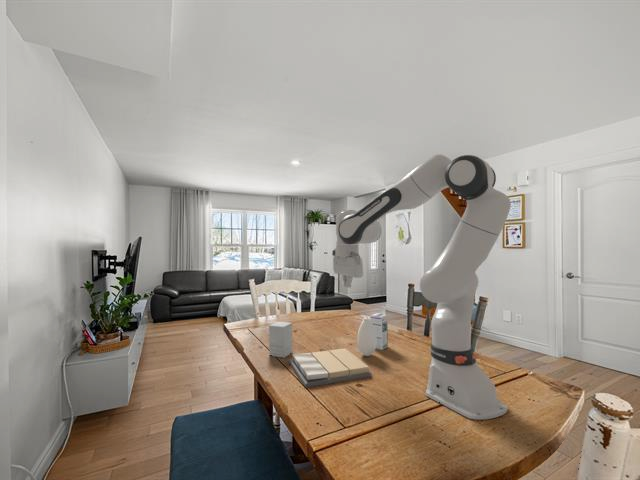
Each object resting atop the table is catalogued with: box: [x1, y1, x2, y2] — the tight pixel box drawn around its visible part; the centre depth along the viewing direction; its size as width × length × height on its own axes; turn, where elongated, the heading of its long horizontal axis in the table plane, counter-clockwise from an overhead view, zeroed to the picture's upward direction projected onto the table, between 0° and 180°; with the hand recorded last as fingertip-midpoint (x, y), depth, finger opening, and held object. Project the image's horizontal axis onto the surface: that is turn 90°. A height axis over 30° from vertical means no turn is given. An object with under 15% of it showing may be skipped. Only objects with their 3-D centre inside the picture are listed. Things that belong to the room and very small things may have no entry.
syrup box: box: [369, 312, 389, 351], centre depth 134 cm, size 6×6×14 cm
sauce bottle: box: [356, 311, 377, 357], centre depth 124 cm, size 8×8×18 cm
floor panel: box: [288, 348, 372, 388], centre depth 110 cm, size 22×24×3 cm
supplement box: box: [268, 321, 293, 358], centre depth 126 cm, size 7×7×13 cm
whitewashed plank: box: [291, 352, 328, 380], centre depth 108 cm, size 20×7×2 cm, turn 20°
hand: (347, 287), depth 118 cm, fingers closed
